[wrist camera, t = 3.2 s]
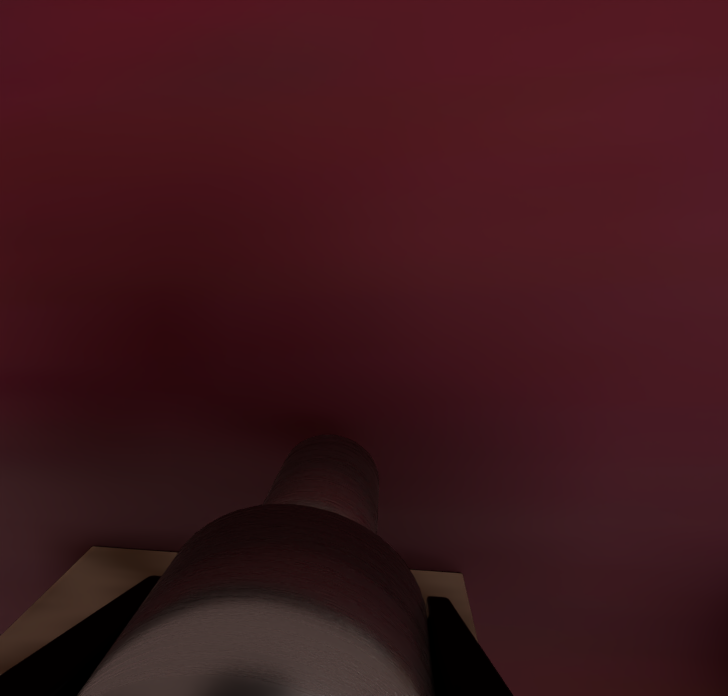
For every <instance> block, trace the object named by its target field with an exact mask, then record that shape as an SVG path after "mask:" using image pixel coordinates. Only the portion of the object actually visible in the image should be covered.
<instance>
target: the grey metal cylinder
mask: <svg viewBox="0 0 728 696" xmlns="http://www.w3.org/2000/svg"><path fill="white" fill-rule="evenodd" d="M378 497H379V475H378V470H377V467H376V465H375V462H374V460H373V459H372V457H371V456H370V454H369V453H368V452H367V451H366V450H365V449H364V448H363V447H362V446H360V445H359V444H357V443H356V442H354V441H352V440H350V439H348V438H345V437H342V436H338V435H318V436H314V437H311V438H308V439H306V440H304V441H302V442H300V443H299V444H298V445H296V446H295V447H294V448H293V449H292V450H291V452H290V453H289V454H288V456H287V458H286V460H285V461H284V463H283V465H282V467H281V469H280V471H279V473H278V475H277V477H276V479H275V481H274V483H273V485H272V487H271V489H270V491H269V493H268V495H267V497H266V499H265V501H264V503H263V505H258V506H253V507H249V508H244V509H240V510H237V511H234V512H232V513H229V514H227V515H224V516H222V517H220V518H218V519H216V520H214V521H212V522H211V523H209V524H207V525H206V526H204V527H203V528H202V529H200V530H199V531H198V532H196V533H195V534H194V535H193V536H192V537H191V538H190V539H189V540H188V541H187V542H186V543H185V544H184V545H183V547H182V548H181V549H180V551H179V552H178V554H177V555H176V556H175V558H174V559H173V561H172V562H171V564H170V565H169V566H168V568H167V569H166V571H165V572H164V573H163V575H162V576H161V578H160V579H159V580H158V582H157V583H156V585H155V586H154V587H153V589H152V590H151V592H150V593H149V594H148V596H147V597H146V599H145V600H144V602H143V603H142V604H141V606H140V607H139V609H138V610H137V611H136V613H135V614H134V616H133V617H132V618H131V620H130V621H129V623H128V624H127V625H126V627H125V628H124V630H123V631H122V633H121V634H120V635H119V637H118V638H117V640H116V641H115V642H114V644H113V645H112V647H111V648H110V649H109V651H108V652H107V654H106V655H105V656H104V658H103V659H102V661H101V662H100V664H99V665H98V666H97V668H96V669H95V671H94V672H93V673H92V675H91V676H90V678H89V679H88V680H87V682H86V683H85V685H84V686H83V687H82V689H81V690H80V692H79V693H78V695H77V696H436V693H435V683H434V674H433V665H432V656H431V647H430V637H429V628H428V619H427V613H426V606H425V602H424V599H423V596H422V593H421V589H420V587H419V585H418V583H417V581H416V579H415V577H414V575H413V573H412V572H411V571H410V569H409V568H408V566H407V565H406V563H405V562H404V560H403V559H402V558H401V557H400V556H399V555H398V554H397V552H396V551H395V550H394V549H393V548H392V547H391V546H390V545H389V544H387V543H386V542H385V541H384V540H383V539H382V538H380V537H379V536H378V535H377V521H378Z"/></svg>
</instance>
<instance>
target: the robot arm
mask: <svg viewBox="0 0 728 696" xmlns="http://www.w3.org/2000/svg"><path fill="white" fill-rule="evenodd" d="M160 578H161V576H157V575H152V576H149V577H147V578H145V579H144V580H142V581H141V582H139V583H138V584H136V585H135V586H133V587H132V588H130V589H129V590H127V591H126V592H124V593H123V594H121V595H120V596H118V597H117V598H115V599H114V600H112V601H111V602H109V603H108V604H106V605H105V606H103V607H102V608H100V609H99V610H97V611H96V612H94V613H93V614H91V615H90V616H88V617H87V618H85V619H84V620H82V621H81V622H79V623H78V624H76V625H75V626H73V627H72V628H70V629H69V630H67V631H66V632H64V633H63V634H61V635H60V636H58V637H57V638H55V639H54V640H52V641H51V642H49V643H48V644H46V645H45V646H43V647H42V648H40V649H39V650H37V651H36V652H34V653H33V654H31V655H30V656H28V657H27V658H25V659H24V660H22V661H21V662H19V663H18V664H16V665H15V666H13V667H12V668H10V669H9V670H7V671H6V672H4V673H3V674H1V675H0V696H77V695H78V693H79V692H80V690H81V689H82V687H83V686H84V685H85V683H86V682H87V680H88V679H89V678H90V676H91V675H92V673H93V672H94V671H95V669H96V668H97V666H98V665H99V664H100V662H101V661H102V659H103V658H104V656H105V655H106V654H107V652H108V651H109V649H110V648H111V647H112V645H113V644H114V642H115V641H116V640H117V638H118V637H119V635H120V634H121V633H122V631H123V630H124V628H125V627H126V625H127V624H128V623H129V621H130V620H131V618H132V617H133V616H134V614H135V613H136V611H137V610H138V609H139V607H140V606H141V604H142V603H143V602H144V600H145V599H146V597H147V596H148V594H149V593H150V592H151V590H152V589H153V587H154V586H155V585H156V583H157V582H158V580H159V579H160ZM425 606H426V613H427V619H428V628H429V637H430V647H431V656H432V665H433V674H434V683H435V693H436V696H513V694H512V693H511V691H510V690H509V688H508V687H507V685H506V684H505V682H504V681H503V679H502V678H501V676H500V675H499V673H498V672H497V670H496V669H495V667H494V666H493V664H492V663H491V661H490V660H489V658H488V657H487V655H486V654H485V652H484V651H483V649H482V648H481V646H480V645H479V643H478V642H477V640H476V639H475V637H474V636H473V634H472V633H471V631H470V630H469V628H468V627H467V625H466V624H465V622H464V621H463V619H462V618H461V616H460V615H459V613H458V612H457V610H456V609H455V607H454V606H453V604H452V603H451V601H450V600H449V599H448V598H446V597H437V596H429V597H427V599H426V605H425Z"/></svg>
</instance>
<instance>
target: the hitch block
mask: <svg viewBox="0 0 728 696" xmlns="http://www.w3.org/2000/svg"><path fill="white" fill-rule="evenodd" d="M177 554H178V553H176V552H163V551H149V550H136V549H122V548H108V547H95V546H92V547H91V548H90V549H89V550H88V551H87V552H86V553H85V554H84V555H83V556H82V557H81V558H80V559H79V560H78V561H77V562H76V563H75V564H74V565H73V566H72V567H71V568H70V569H69V570H68V571H67V572H66V573H65V574H64V575H63V576H62V577H61V578H60V579H59V580H58V581H57V582H56V583H55V584H53V585H52V586H51V587H50V588H49V589H48V590H47V591H46V592H45V593H44V594H43V595H42V596H41V597H40V598H39V599H38V600H37V601H36V602H35V603H34V604H33V605H32V606H31V607H30V608H29V609H28V610H27V611H26V612H25V613H24V614H23V615H22V616H21V617H20V618H19V619H18V620H17V621H16V622H15V623H13V624H12V625H11V626H10V627H9V628H8V629H7V630H6V631H5V632H4V633H3V634H2V635H1V636H0V675H1V674H3V673H4V672H6V671H7V670H9V669H10V668H12V667H13V666H15V665H16V664H18V663H19V662H21V661H22V660H24V659H25V658H27V657H28V656H30V655H31V654H33V653H34V652H36V651H37V650H39V649H40V648H42V647H43V646H45V645H46V644H48V643H49V642H51V641H52V640H54V639H55V638H57V637H58V636H60V635H61V634H63V633H64V632H66V631H67V630H69V629H70V628H72V627H73V626H75V625H76V624H78V623H79V622H81V621H82V620H84V619H85V618H87V617H88V616H90V615H91V614H93V613H94V612H96V611H97V610H99V609H100V608H102V607H103V606H105V605H106V604H108V603H109V602H111V601H112V600H114V599H115V598H117V597H118V596H120V595H121V594H123V593H124V592H126V591H127V590H129V589H130V588H132V587H133V586H135V585H136V584H138V583H139V582H141V581H142V580H144V579H145V578H147V577H149V576H152V575H157V576H162V575H163V573H164V572H165V571H166V569H167V568H168V566H169V565H170V564H171V562H172V561H173V559H174V558H175V556H176V555H177ZM410 571H411V572H412V573H413V575H414V577H415V579H416V581H417V583H418V585H419V587H420V589H421V593H422V596H423V599H424V602H425V605H426V599H427V597H429V596H437V597H446V598H448V599H449V600H450V601H451V603H452V604H453V606H454V607H455V609H456V610H457V612H458V613H459V615H460V616H461V618H462V619H463V621H464V622H465V624H466V625H467V627H468V628H469V630H470V631H471V633H472V634H473V636H474V637H475V639H476V640H477V635H476V631H475V627H474V622H473V618H472V614H471V609H470V605H469V601H468V596H467V592H466V588H465V583H464V579H463V575H462V573H448V572H435V571H421V570H410ZM477 642H478V640H477Z"/></svg>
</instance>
